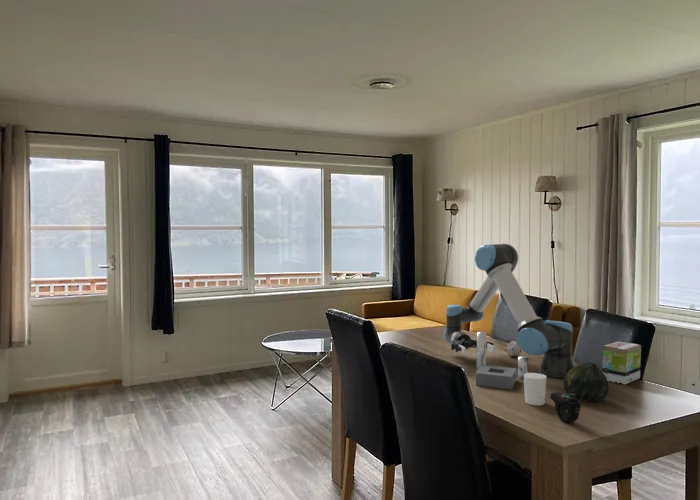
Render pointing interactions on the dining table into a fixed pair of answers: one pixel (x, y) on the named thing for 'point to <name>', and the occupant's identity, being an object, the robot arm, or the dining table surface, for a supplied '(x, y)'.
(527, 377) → the white cup
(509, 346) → the game die
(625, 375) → the tea box
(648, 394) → the dining table surface
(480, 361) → the long steel pin
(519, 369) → the short steel pin
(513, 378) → the charcoal collar block
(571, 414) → the controller
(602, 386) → the squash
